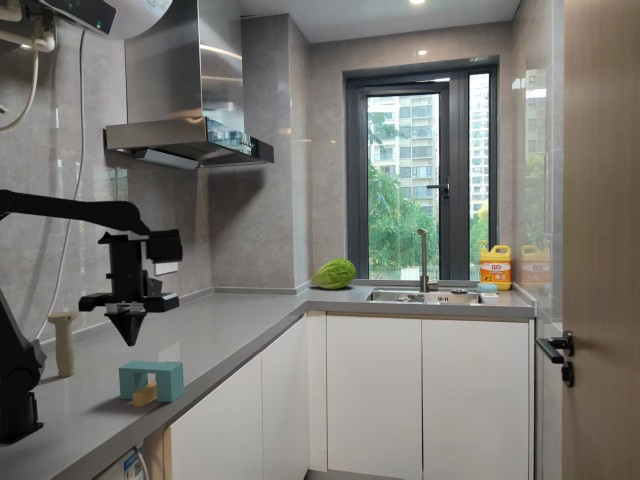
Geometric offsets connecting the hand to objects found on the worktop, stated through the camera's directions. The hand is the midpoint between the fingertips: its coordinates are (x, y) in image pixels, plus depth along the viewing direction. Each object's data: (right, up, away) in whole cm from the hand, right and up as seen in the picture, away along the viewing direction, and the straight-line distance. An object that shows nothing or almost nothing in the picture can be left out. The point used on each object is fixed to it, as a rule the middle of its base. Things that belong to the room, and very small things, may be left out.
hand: (131, 345), depth 83 cm
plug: (+2, -12, +8) cm, 15 cm away
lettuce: (+43, -4, +135) cm, 141 cm away
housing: (+2, -12, +6) cm, 14 cm away
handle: (-25, -12, +20) cm, 34 cm away
